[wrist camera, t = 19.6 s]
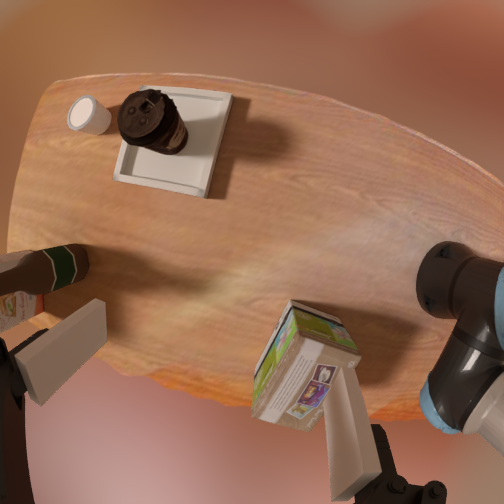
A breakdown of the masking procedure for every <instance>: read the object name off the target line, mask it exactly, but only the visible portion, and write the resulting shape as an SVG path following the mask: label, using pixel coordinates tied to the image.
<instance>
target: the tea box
mask: <svg viewBox="0 0 504 504" xmlns="http://www.w3.org/2000/svg"><path fill="white" fill-rule="evenodd" d="M361 358H362V355H361V353H360V352H359V350H358V348H357V347H356V345H355V343H354V342H353V340H352V339H351V337H350V335H349V334H348V332H347V331H346V329H345V328H344V326H343V324H342V323H341V321H340V320H339V318H338V317H335V316H333V315H330V314H327V313H324V312H321V311H319V310H316V309H313V308H311V307H308V306H306V305H303V304H301V303H298V302H296V301H293V300H289V302H288V304H287V306H286V308H285V310H284V312H283V314H282V316H281V318H280V320H279V322H278V324H277V326H276V328H275V330H274V332H273V334H272V336H271V338H270V340H269V341H268V343H267V345H266V348H265V349H264V351H263V353H262V355H261V357H260V359H259V361H258V363H257V365H256V367H255V376H254V388H253V399H252V410H251V417H254V418H257V419H260V420H264V421H267V422H271V423H275V424H279V425H282V426H286V427H290V428H294V429H299V430H303V431H307V432H310V431H311V430H312V429H313V427H314V426H315V425H316V424H317V422H318V421H319V420H320V418H321V417H322V416H323V414H324V407H323V401H324V399H325V398H326V396H327V394H328V392H329V390H330V388H331V386H332V384H333V383H334V381H335V379H336V377H337V375H338V373H339V371H340V369H341V367H346V368H353V369H355V368H356V366H357V365H358V363H359V362H360V360H361Z"/></svg>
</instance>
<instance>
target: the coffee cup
mask: <svg viewBox="0 0 504 504" xmlns="http://www.w3.org/2000/svg"><path fill="white" fill-rule="evenodd" d="M118 125H119V130H120V134H121V136H122V138H123V140H124V141H125V142H126V143H128V144H129V145H132V146H138V147H143V148H145V149H148V150H151V151H154V152H157V153H159V154H163V155H174V154H177V153H179V152H180V151H181V150H182V149H184V147H185V146H186V144H187V141H188V136H189V135H188V131H187V129H186V127H185V124H184V122H183V120H182V118H181V116H180V114H179V112H178V110H177V106H175V103H174V101H173V99H170V98H169V97H168V95H167V94H163V93H161V90H154V89H151V88H150V89H147V90H143V91H137V92H135V93H132V94H130V95H129V96H128V97H127V98H126V99H125V101H124V102H123V104H122V105H121V107H120V109H119V112H118Z"/></svg>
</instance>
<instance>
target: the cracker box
mask: <svg viewBox="0 0 504 504" xmlns="http://www.w3.org/2000/svg"><path fill="white" fill-rule="evenodd" d="M32 252H33V251H30V250H24V251H19V252H13V253H8V254H3V255H0V273H2V272H4V271H7V270H10V269H12V268H14V267H15V266H17V264H18V262H19V260H20V259H21V258H22V257H23V256H24V255H26V254H29V253H32ZM42 312H44V308H43V294H40V295H29V294H27V293H25V292H23V291H18V292H14V293H10V294H7V295H3V296H0V333H2V332H4V331H6V330H8V329H10V328H12V327H14V326H16V325H18V324H20V323H22V322H24V321H26V320H28V319H30V318H32V317H34V316H36V315H38V314H40V313H42Z"/></svg>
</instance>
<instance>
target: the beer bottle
mask: <svg viewBox="0 0 504 504" xmlns="http://www.w3.org/2000/svg"><path fill="white" fill-rule="evenodd" d="M88 268H89V263H88V258H87V253H86V252H85V251H84V250H83V249H82V248H81V247H80V246H79V245H78V244H68V245H63V246H58V247H53V248H48V249H42V250H39V251H35V252H32V253H29V254H26V255H24V256H23V257H22V258H21V259H20V260H19V262H18V264H17V266H15V267H14V268H12V269H10V270H7V271H4V272H2V273H0V296H3V295H7V294H10V293H14V292H18V291H23V292H25V293H27V294H29V295H40V294H46V293H49V292H52V291H55V290H57V289H59V288H62V287H64V286H67V285H70V284H72V283H75V282H77V281H80V280H82V279H84V277H85V275H86V272H87V270H88Z"/></svg>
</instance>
